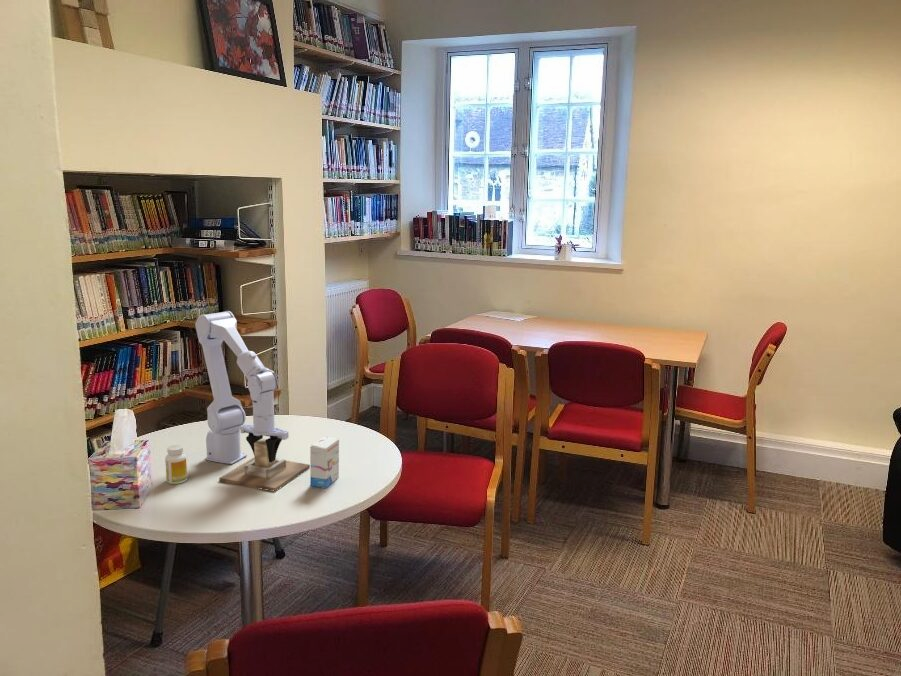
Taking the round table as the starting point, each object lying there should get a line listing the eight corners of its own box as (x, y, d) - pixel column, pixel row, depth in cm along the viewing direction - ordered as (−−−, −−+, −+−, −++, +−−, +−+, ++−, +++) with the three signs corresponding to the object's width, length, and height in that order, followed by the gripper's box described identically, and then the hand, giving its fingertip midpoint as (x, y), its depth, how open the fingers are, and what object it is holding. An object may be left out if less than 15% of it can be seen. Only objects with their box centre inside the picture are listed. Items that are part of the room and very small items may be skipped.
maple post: (255, 469, 208) (254, 442, 206) (263, 464, 211) (262, 438, 210) (267, 471, 206) (266, 444, 205) (275, 466, 210) (274, 440, 208)
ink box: (326, 489, 201) (325, 447, 198) (309, 486, 202) (308, 445, 199) (339, 477, 209) (339, 437, 206) (323, 474, 210) (323, 435, 207)
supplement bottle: (191, 478, 206) (189, 445, 203) (178, 485, 201) (176, 452, 198) (175, 475, 207) (173, 442, 205) (162, 482, 202) (160, 449, 200)
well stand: (219, 481, 204) (218, 469, 203) (257, 458, 221) (256, 447, 220) (275, 491, 198) (274, 479, 197) (309, 467, 215) (309, 456, 214)
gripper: (233, 414, 204) (235, 460, 207) (278, 421, 199) (279, 468, 202) (248, 407, 211) (249, 452, 214) (292, 414, 206) (293, 459, 209)
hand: (265, 459), depth 208 cm, fingers closed on maple post, 4 cm apart
